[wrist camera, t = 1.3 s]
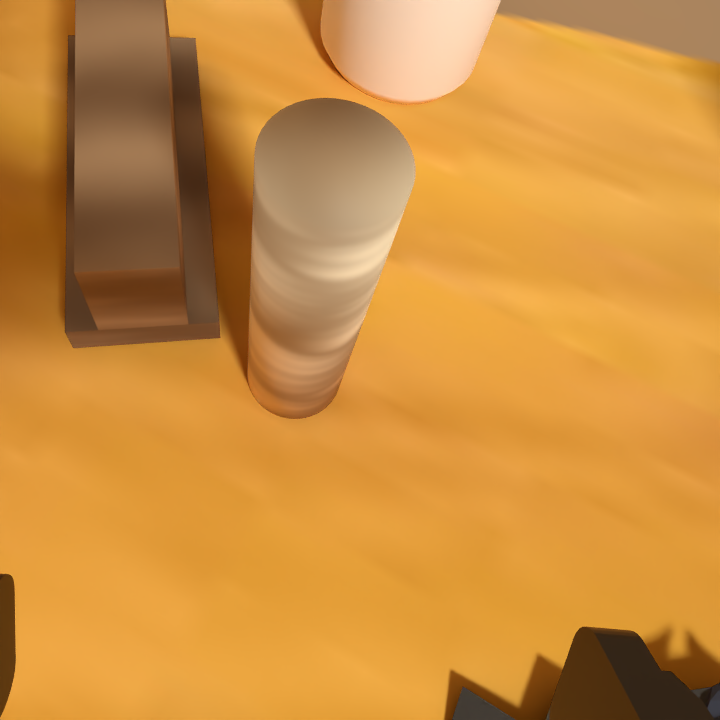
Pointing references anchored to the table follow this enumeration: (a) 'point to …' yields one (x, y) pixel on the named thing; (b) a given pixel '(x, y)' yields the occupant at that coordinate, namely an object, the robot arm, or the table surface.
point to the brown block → (135, 182)
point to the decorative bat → (479, 716)
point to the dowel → (319, 244)
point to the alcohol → (406, 44)
